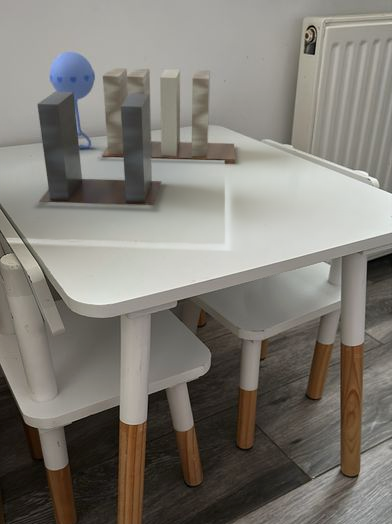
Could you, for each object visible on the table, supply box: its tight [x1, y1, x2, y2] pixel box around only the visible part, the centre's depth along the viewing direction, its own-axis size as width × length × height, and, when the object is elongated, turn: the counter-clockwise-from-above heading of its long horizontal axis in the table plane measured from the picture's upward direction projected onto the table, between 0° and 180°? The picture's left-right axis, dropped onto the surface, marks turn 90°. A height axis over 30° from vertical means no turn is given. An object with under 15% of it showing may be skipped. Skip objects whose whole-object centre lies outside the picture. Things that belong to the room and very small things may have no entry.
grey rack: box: [36, 91, 162, 206], centre depth 88 cm, size 18×12×15 cm, turn 88°
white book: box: [159, 69, 181, 156], centre depth 110 cm, size 3×10×14 cm, turn 178°
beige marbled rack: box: [101, 67, 236, 165], centre depth 110 cm, size 26×12×15 cm, turn 88°
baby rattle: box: [48, 51, 96, 150], centre depth 111 cm, size 9×9×18 cm
